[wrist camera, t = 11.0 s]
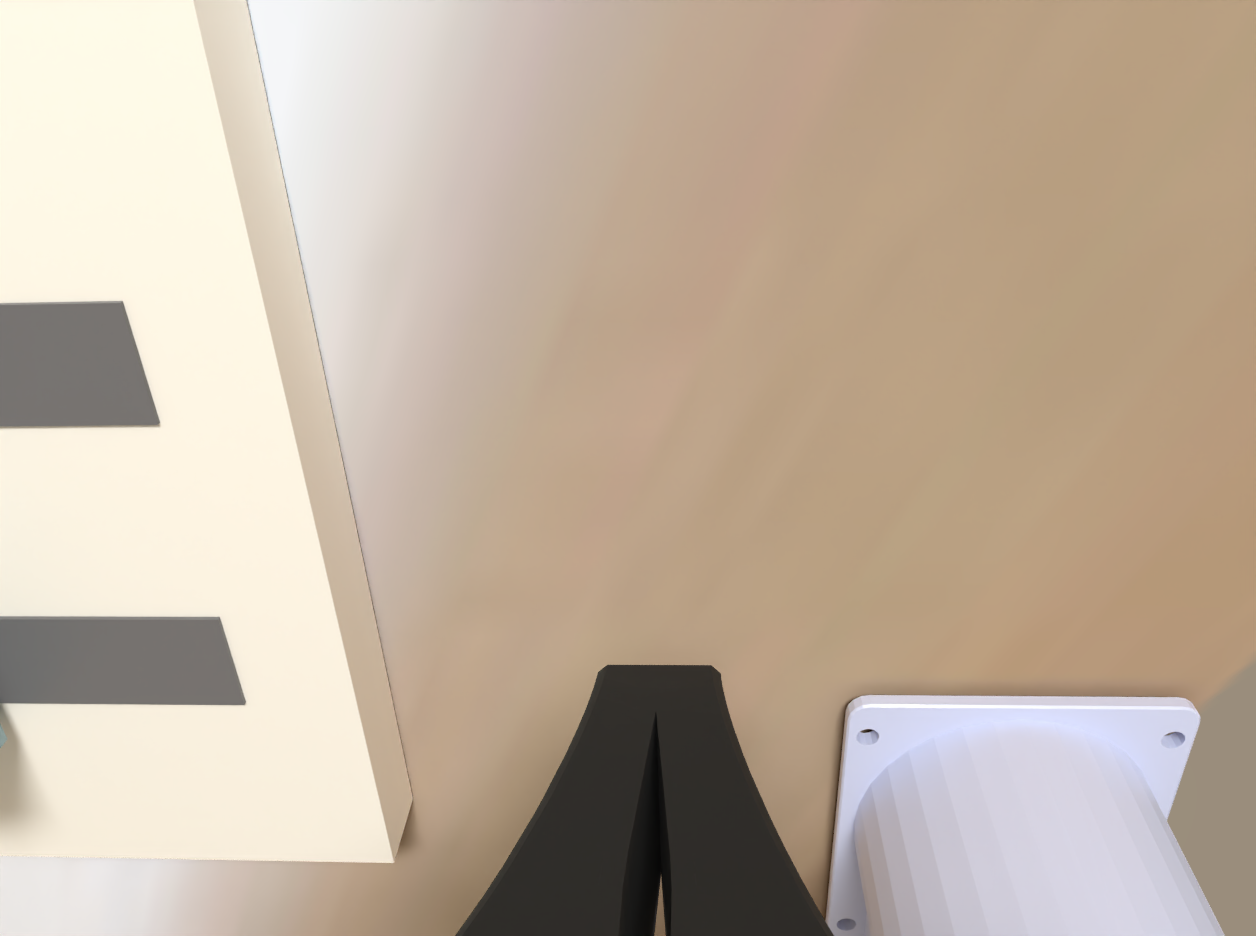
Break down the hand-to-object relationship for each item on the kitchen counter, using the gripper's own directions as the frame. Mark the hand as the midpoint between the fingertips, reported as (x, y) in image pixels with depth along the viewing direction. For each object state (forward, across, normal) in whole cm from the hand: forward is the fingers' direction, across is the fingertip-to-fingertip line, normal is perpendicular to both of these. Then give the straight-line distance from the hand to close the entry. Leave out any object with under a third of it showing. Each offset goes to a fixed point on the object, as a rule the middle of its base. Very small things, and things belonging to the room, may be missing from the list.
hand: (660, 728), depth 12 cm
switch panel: (+9, +14, +2) cm, 17 cm away
